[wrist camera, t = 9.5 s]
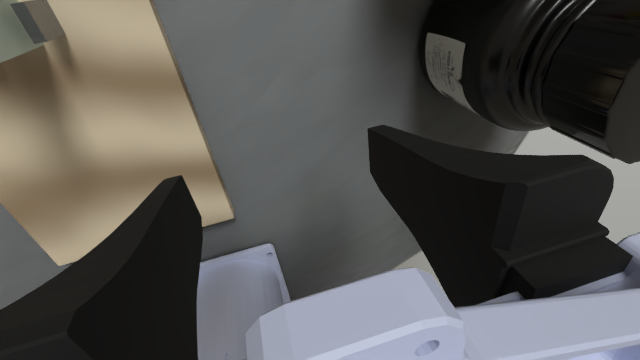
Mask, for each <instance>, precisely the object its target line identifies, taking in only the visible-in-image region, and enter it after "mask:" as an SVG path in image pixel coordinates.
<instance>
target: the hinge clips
mask: <svg viewBox="0 0 640 360" xmlns="http://www.w3.org/2000/svg"><path fill="white" fill-rule="evenodd" d="M10 5H11V7H12V9H13V10H14V12H15V14H16V15H17V17H18V18H19V20H20V22H21V23H22V25H23V27H24V28H25V30H26V31H27V33H28V35H29V36H30V38H31V40H32V41H33V43H34V44H38V43H43V42H48V41H50V40H53V39H55V38H58V37H60V36H63V35H65V32H64V30H63V28H62V26H61V25H60V23H59V21H58V19H57V17H56V16H55V14H54V12H53V10H52V8H51V7H50V5H49V3H48V1H47V0H32V1H25V2H19V3H13V4H10Z"/></svg>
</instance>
